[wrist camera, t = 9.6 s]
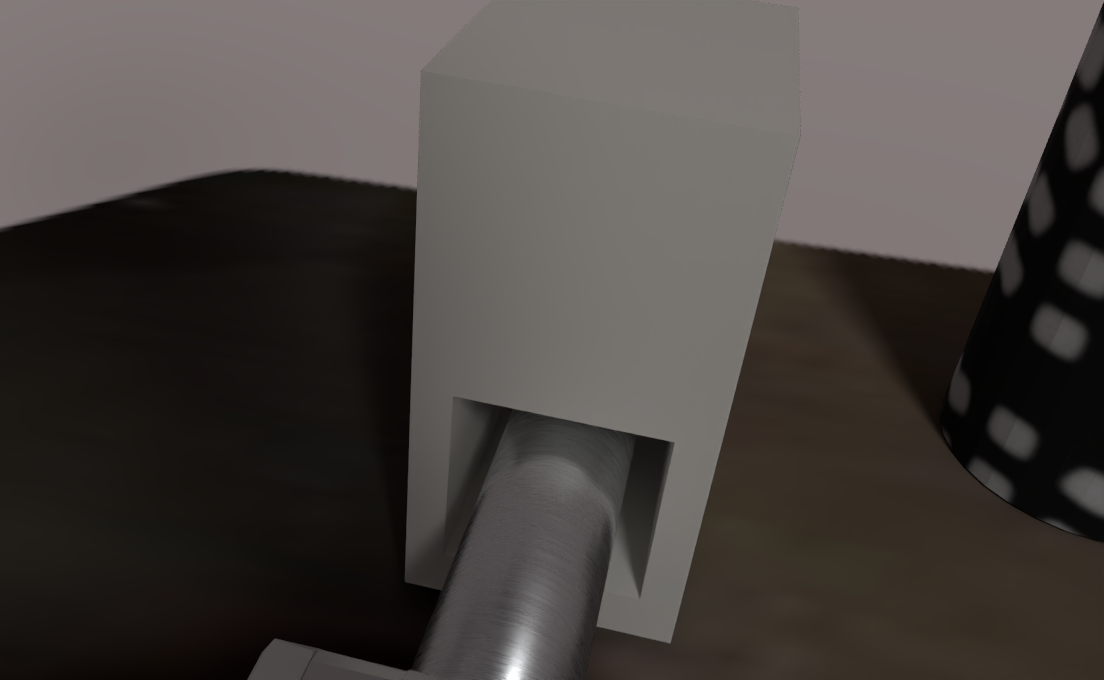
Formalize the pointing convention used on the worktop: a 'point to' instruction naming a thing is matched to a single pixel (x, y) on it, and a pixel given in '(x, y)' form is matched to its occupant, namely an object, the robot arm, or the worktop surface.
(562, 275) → the notched block
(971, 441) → the white-spotted black cylinder
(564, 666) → the pipe
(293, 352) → the worktop surface
